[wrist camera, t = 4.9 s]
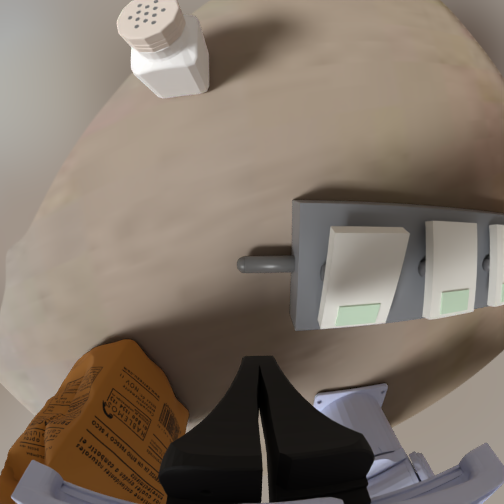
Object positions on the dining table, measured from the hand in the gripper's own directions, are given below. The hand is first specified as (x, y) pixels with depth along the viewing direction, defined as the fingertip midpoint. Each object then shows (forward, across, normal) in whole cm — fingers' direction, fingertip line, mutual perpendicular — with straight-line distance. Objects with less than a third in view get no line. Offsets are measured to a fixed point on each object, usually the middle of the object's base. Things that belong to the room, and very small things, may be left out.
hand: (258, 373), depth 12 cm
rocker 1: (+7, -7, -2) cm, 10 cm away
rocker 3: (+7, -23, -2) cm, 24 cm away
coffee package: (+11, +12, +11) cm, 19 cm away
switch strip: (+10, -13, -2) cm, 17 cm away
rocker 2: (+7, -15, -2) cm, 17 cm away
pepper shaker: (+11, +5, -17) cm, 21 cm away
